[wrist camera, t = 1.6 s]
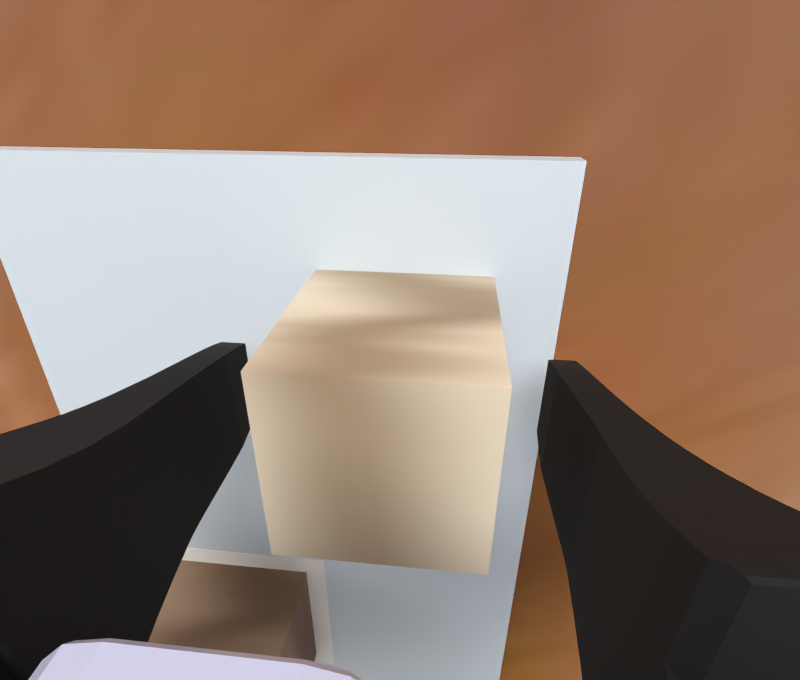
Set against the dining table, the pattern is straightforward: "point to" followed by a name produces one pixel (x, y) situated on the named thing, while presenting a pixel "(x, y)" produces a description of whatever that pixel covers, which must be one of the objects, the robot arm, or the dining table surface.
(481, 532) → the birch block
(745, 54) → the dining table surface
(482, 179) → the pale grey rectangular board
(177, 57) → the dining table surface
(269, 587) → the walnut base block
